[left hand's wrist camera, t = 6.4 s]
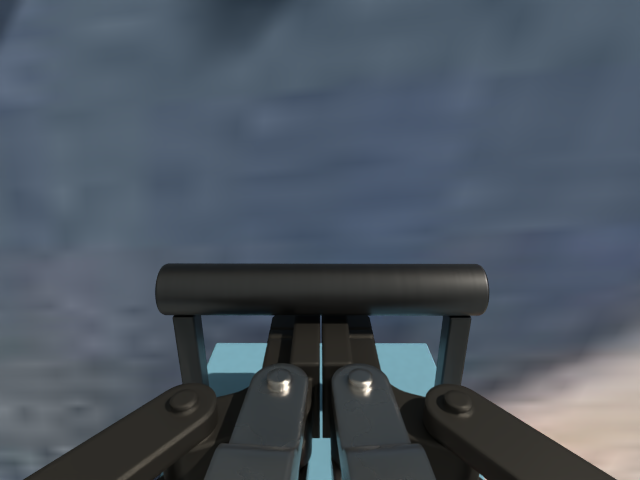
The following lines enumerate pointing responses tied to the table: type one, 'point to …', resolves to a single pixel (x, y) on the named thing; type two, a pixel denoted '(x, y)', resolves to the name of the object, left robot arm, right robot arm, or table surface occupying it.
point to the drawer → (322, 299)
